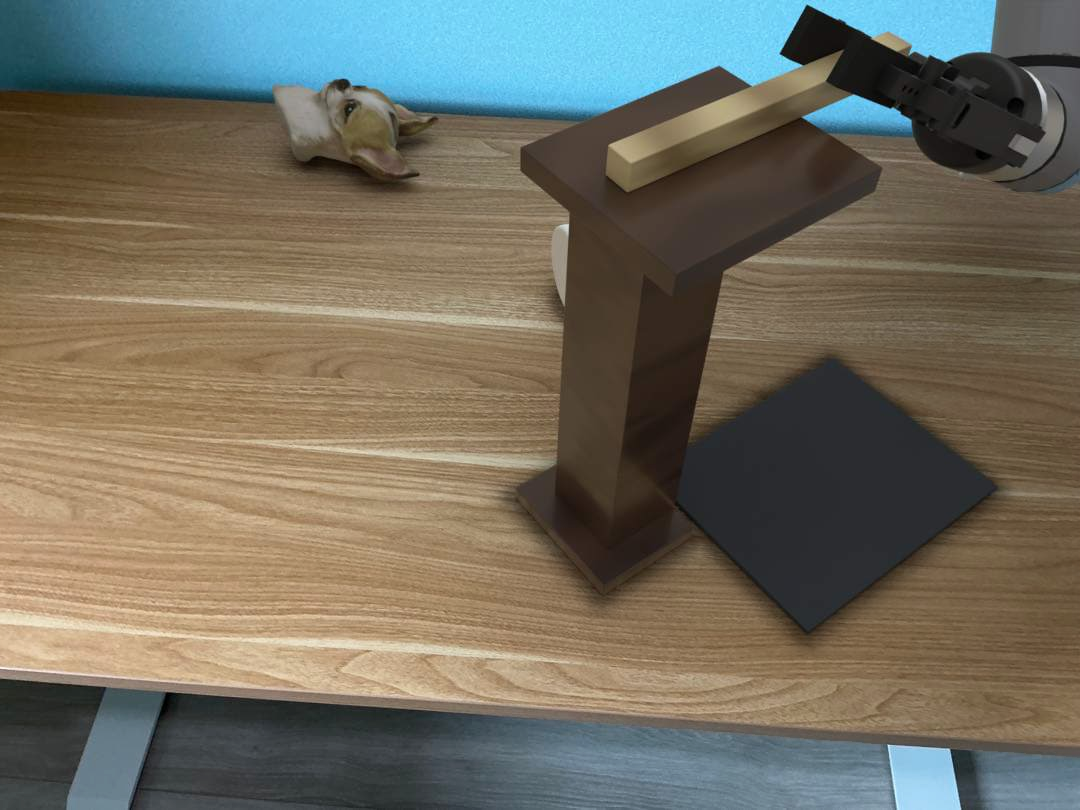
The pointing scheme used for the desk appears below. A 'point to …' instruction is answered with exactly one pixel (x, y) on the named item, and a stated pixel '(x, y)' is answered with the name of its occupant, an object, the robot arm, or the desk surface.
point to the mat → (824, 491)
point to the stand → (657, 308)
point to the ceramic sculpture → (349, 126)
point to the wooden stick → (728, 121)
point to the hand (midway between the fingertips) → (821, 45)
